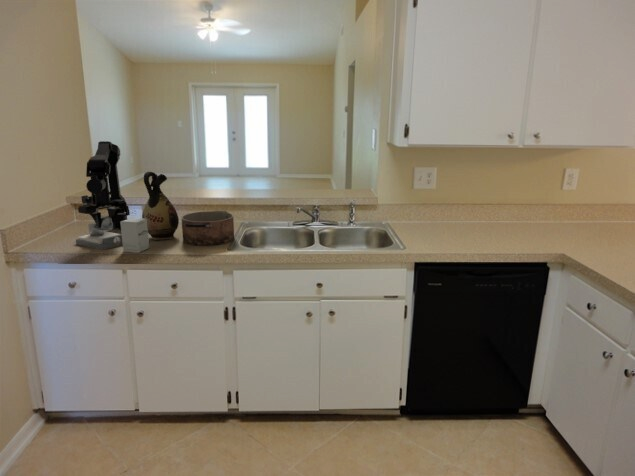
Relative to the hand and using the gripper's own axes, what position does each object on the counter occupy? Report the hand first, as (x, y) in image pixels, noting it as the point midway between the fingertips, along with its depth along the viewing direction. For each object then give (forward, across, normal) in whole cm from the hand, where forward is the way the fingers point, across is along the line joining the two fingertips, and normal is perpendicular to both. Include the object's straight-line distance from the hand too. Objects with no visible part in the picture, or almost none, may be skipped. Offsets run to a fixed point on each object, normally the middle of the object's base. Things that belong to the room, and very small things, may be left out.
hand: (105, 226), depth 177 cm
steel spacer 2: (+1, 0, 0) cm, 1 cm away
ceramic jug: (+8, -18, +12) cm, 23 cm away
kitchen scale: (+8, 0, -2) cm, 8 cm away
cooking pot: (+8, -27, +32) cm, 43 cm away
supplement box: (+8, 0, +18) cm, 20 cm away
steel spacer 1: (+4, 0, -6) cm, 8 cm away
